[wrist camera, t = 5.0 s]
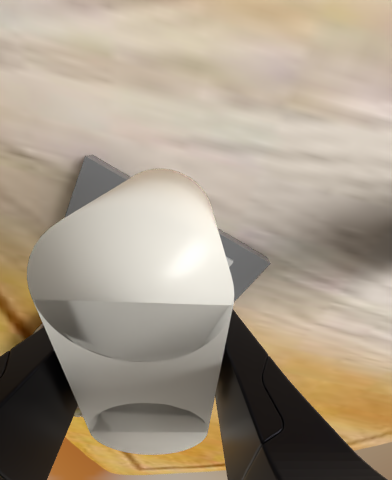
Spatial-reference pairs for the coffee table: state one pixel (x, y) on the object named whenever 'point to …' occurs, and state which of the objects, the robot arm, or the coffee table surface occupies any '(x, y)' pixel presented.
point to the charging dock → (237, 254)
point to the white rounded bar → (138, 310)
